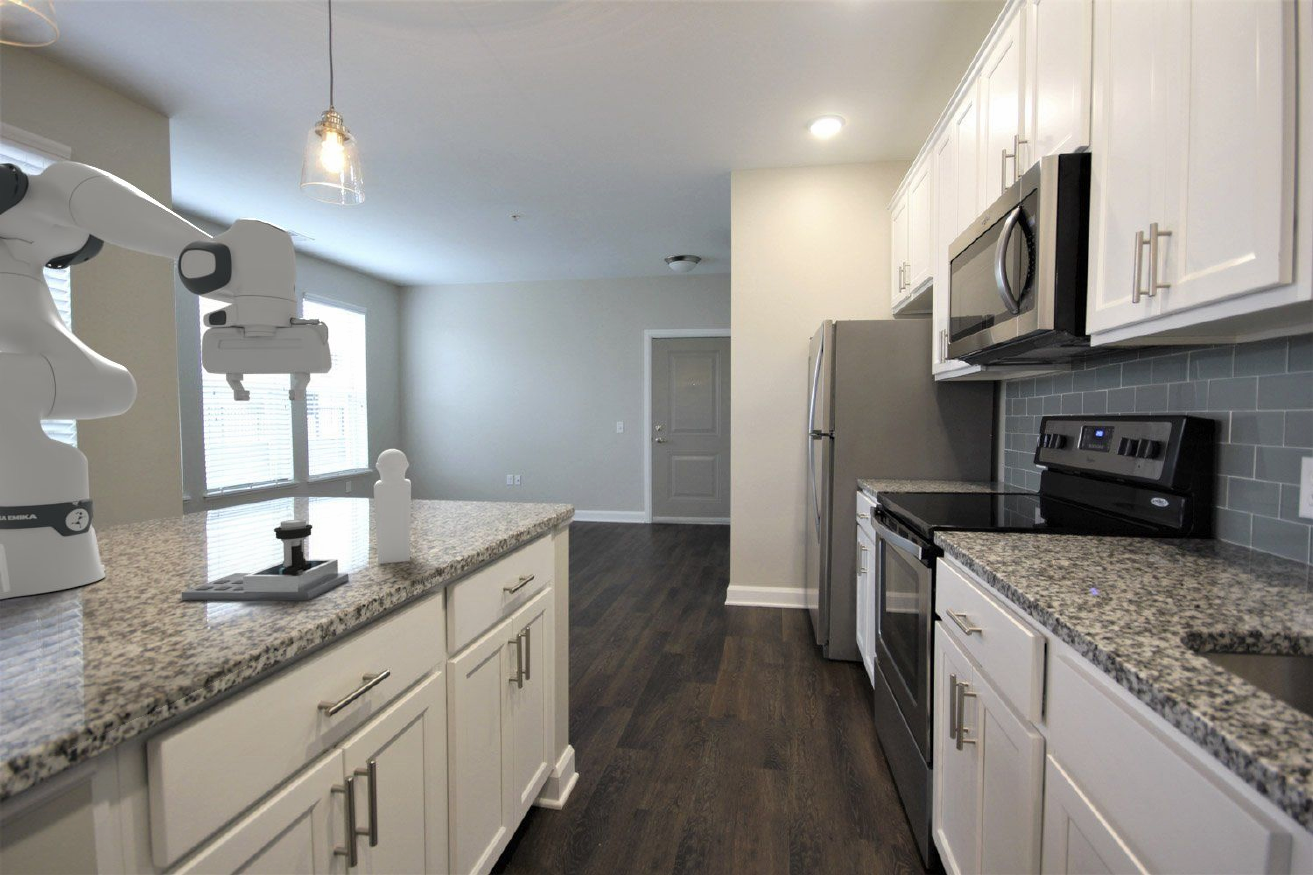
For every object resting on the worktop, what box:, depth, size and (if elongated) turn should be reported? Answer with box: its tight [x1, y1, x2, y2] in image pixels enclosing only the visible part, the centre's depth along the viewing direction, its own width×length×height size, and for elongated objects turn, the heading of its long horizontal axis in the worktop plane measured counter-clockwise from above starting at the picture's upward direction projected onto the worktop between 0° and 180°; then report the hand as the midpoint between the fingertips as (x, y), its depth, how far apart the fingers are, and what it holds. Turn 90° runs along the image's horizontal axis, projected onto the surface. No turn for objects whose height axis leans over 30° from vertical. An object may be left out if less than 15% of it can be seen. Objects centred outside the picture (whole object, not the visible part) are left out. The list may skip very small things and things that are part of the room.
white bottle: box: [373, 448, 412, 565], centre depth 114 cm, size 6×6×22 cm
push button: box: [273, 518, 313, 575], centre depth 94 cm, size 7×5×10 cm
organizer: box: [181, 558, 349, 601], centre depth 95 cm, size 20×11×4 cm, turn 88°
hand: (269, 400), depth 98 cm, fingers open, 8 cm apart
